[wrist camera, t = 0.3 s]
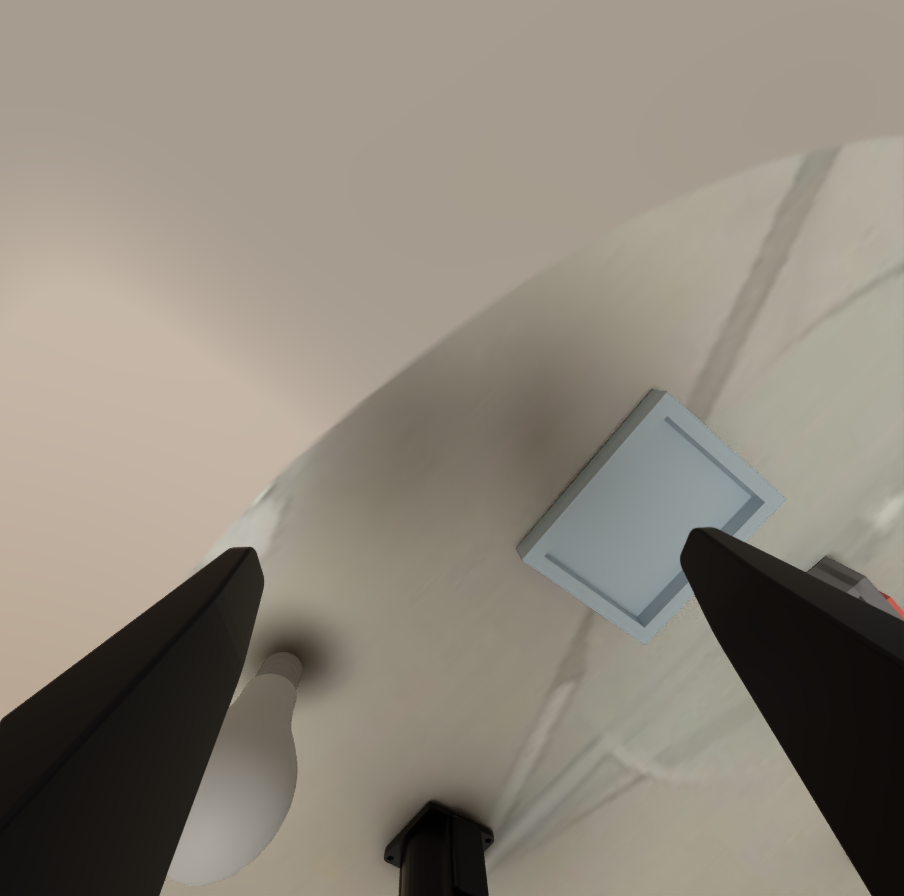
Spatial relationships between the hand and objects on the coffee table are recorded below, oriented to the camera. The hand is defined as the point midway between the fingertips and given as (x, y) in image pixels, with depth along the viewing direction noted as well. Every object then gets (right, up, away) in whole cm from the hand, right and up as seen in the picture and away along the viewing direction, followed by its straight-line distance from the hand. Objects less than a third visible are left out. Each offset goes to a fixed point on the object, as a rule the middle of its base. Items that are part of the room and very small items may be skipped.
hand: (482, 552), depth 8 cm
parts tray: (+12, -3, +17) cm, 21 cm away
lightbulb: (-12, -12, +18) cm, 25 cm away
